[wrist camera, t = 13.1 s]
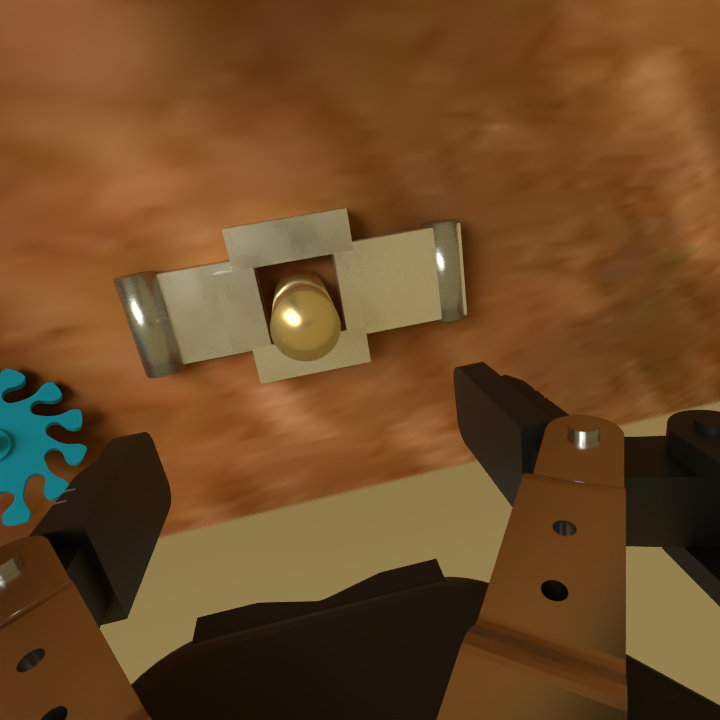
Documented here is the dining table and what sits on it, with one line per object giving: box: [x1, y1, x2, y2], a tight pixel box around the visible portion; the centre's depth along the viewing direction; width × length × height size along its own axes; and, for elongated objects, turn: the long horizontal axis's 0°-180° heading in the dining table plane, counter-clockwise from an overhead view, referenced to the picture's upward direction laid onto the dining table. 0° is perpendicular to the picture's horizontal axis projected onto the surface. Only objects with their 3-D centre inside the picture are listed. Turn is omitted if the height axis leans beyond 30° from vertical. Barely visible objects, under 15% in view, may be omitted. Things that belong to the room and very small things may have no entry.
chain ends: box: [113, 208, 467, 384], centre depth 29 cm, size 10×22×3 cm, turn 99°
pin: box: [270, 269, 341, 361], centre depth 27 cm, size 4×4×9 cm
